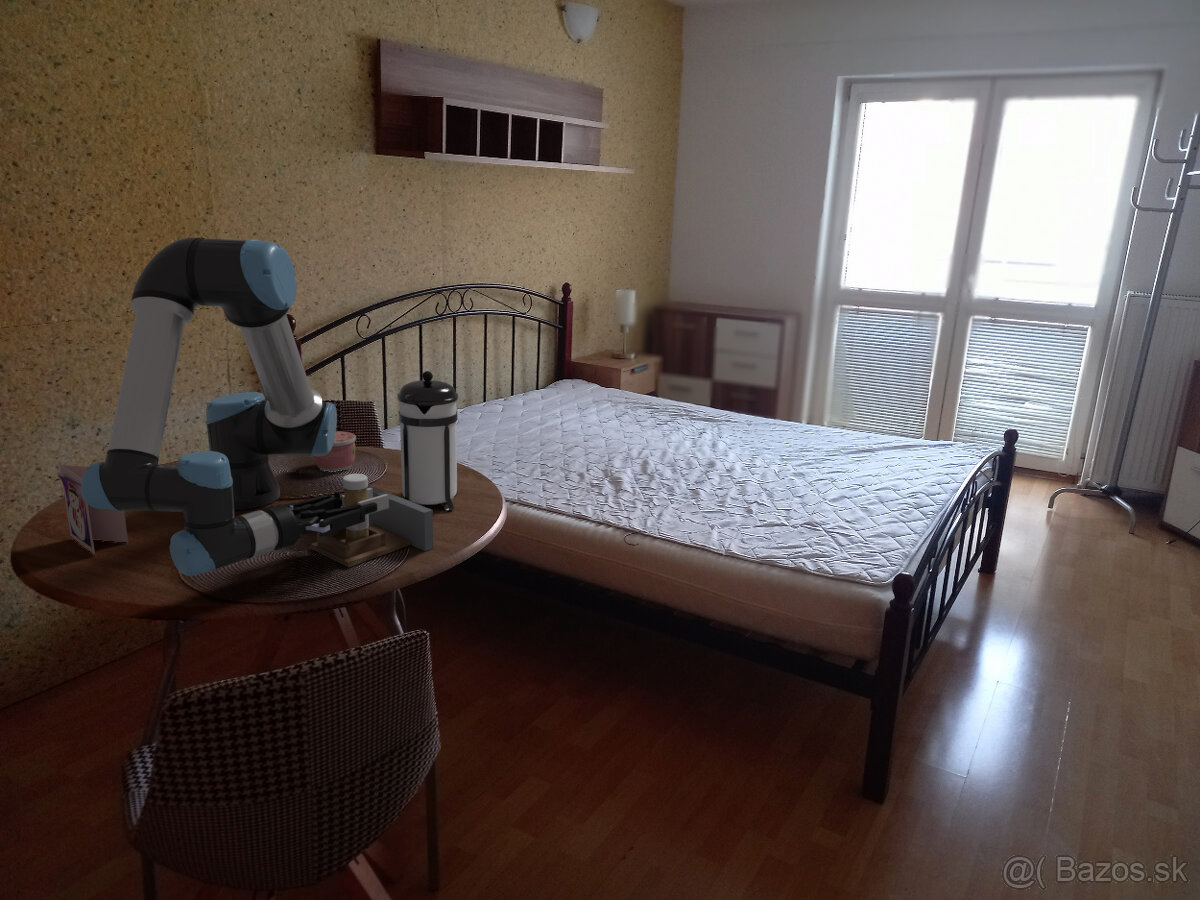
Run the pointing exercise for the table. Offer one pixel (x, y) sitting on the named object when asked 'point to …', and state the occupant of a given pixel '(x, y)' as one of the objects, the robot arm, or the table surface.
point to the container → (338, 453)
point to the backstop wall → (405, 520)
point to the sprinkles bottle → (355, 493)
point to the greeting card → (89, 512)
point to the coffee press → (428, 441)
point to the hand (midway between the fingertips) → (379, 497)
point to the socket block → (358, 545)
